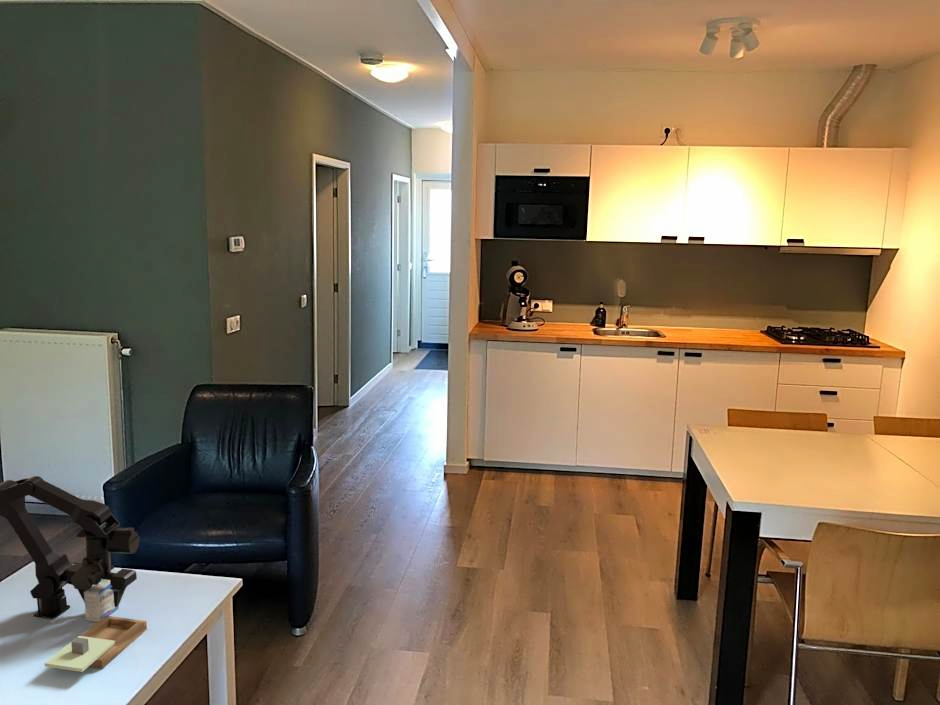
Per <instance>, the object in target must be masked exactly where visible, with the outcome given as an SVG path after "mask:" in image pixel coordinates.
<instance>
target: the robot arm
mask: <svg viewBox="0 0 940 705" xmlns="http://www.w3.org/2000/svg"><path fill="white" fill-rule="evenodd" d="M27 496H31V497H32V498H34V499H36V500H38V501H40V502H42V503H44V504H46V505H48V506H50V507H52V508H54V509H56V510H58V511H59V512H62V513H64V514H66V515H68V517H70V518H71V519H72V522H74V524H75V525H76V526H78V527H80V528H81V529H80V531H79V532H78V533H76V535H75V536H76V537H77V538H84V545H85V556H84V557H83V558H82V563H80V562H79V563H78V562H75V563H74V564H73V563H71V562H70V561H69V558H68V557H67V555H66V553H63V554H62V555H60V554H58V553H56V552H54V551H53V549H52V548H51V547H50V545H49V543H48V542H47V540H46V538H45V537H44V535H43V534H42V532H41V530H40V529H39V527H38V526H37V524H36V522H35V521H34V520H33V518H32V516H31V515H30V513H29V512H28V510H27V508H26V497H27ZM0 516H1V517H3V518H4V519H6V520H7V521H8V523H9V525H10V527H11V528H12V530H13V531H14V533H15V534H16V536H17V537H18V539H19V541H20V542H21V543H22V545H23V547H24V548H25V549H26V552H27V553H28V555H29V556H30V558H31V559H32V561H33V562H34V565H35V577H36V579H37V580H36V581H37V582H38V583H37V584H36V585H35V586H34V587H33V588H32V589H31V590H30V591H29V592H30V595H31V597H32V599H36V603H37V611H35V612H34V613H33V617H38V618H46V619H56V618H57V617H59V616H60V615H62V614H63V613H65V612H66V611H68V610H69V609H70V608H71V605H69V604H68V603H67V595H66V592H65V591H66V590H65V589H64V588H63V587H65V586H66V585H72V586H73V588H74V589H75V590H77V591H78V592H79V595H80V597H81V599H82V601H83V602H84V603H85V600H84V592H85V591H86V590H89V589H90V588H91V587H92V586H93V585H98V583H99V582H100V581H101V580H102V579H105V580H110V585H111V586H112V587H111V588H110V589H111V590H112V591H113V594H114V605H115V607H117V606H118V605H120V603H121V600H122V598H123V596H124V594H125V590H126V589H127V587H128V586H129V585H131V584H133V583H134V582H135V581H136V580H137V578H138V577H137V572H136V571H135V570H134V569H129V568H121V569H120V570H118V571H117V572H112V570H114V569H115V565H114V564H111V556H113V555H114V554H132V555H133V554H135V553H136V552H137V550H138V548H139V545H140V536H139V533H138V532H137V531H135V527H119V526H121V522H120V521H119V520H118V519H117V518H116V516H114V514H113V513H112V512H111V510H110V507H109V506H108V505H107V504H105V503H102V502H100V501H96V500H93V499H92V500H91V499H90V500H89V499H82V498H80V497H78V496H76V495H73V493H70V492H68V491H66V490H64V489H61V488H60V487H58V486H55V485H54V484H52V483H49V482H48V481H46V480H44V479H43V477H41V476H38V475H34V476H33V475H32V477H28V478H27V477H26V478H22V479H18V480H12V479H7V480H4V481H2V482H1V483H0ZM106 523H107V525H105V524H106ZM103 525H105V526H104V527H103V528H102V526H103Z"/></svg>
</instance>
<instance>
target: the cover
mask: <svg viewBox="0 0 940 705" xmlns="http://www.w3.org/2000/svg"><path fill="white" fill-rule="evenodd" d="M114 644H115V641H113V640H106V639H99V638H92V637H85V636H81V635H78V636H77V637H76V638H75V639H73V640H71V641H70V642H69V643H68V644H67V645H65V646H64V647H63V648H61V649H60V650H59V651H58V652H57V653H55V654H54V655H53V656H52V657H50V658H49V659H48V660H47V661H45V662H44V663H43V664H44V667H46V668H47V667H48V668H53V669H54V668H55V669H60V670H68V671H73V672H81V673H83V672H84V671H85V670H87V669H88V668H90V667H89V666H90V665H91V664H92V663H93V662H94V661H96V660H97V659H98V658H99V657H100V656H101V655H102V654H104V653H105V652H106V651H107V650H108V649H109V648H111V647H112V646H113V645H114Z"/></svg>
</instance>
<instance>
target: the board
mask: <svg viewBox="0 0 940 705" xmlns="http://www.w3.org/2000/svg"><path fill="white" fill-rule="evenodd" d="M147 623H148V622H147V620H141V619H134V618H125V617H119V616H111V615H109V616H105V617H103V618H102V619H101V620H100V621H98V622H96V623H94V624H93V625H92V626H91V627H90V628H88V629H86V630H85V631H84V632H83V633H82V634H80V636H85V637H92V638H99V639H106V640H113V641H115V644H114V645H113V646H112V647H111V648H109V649H108V650H107V651H106V652H105V653H104V654H102V655H101V656H100V657H99V658H98V659H97V660H96V661H94V662H93V663H92V664H91V665H90V666H89V667H88V668H93V669H99V670H103V669H104V668H106V666H107V665H109V664H111V662H112V661H113V660H115V659H116V657H118V656H119V655H120V654H121V653H122V652H123V651H124V650H125V649H126V648H128V647H129V646H130V645H131V644H132V643H133V642H134V641H136V640H137V639H138V638H139V637H140V636H141V635H142V634H143V633H145V632H146V631H147V630H148V626H147Z"/></svg>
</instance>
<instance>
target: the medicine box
mask: <svg viewBox="0 0 940 705" xmlns="http://www.w3.org/2000/svg"><path fill="white" fill-rule="evenodd" d="M111 587H112V586H111V585H110V580H105V579H102V580H101V581H100V582H99V583H98V585H92V587H91V588H90V589H89V590H86V591H85V592H84V600H85V602H84V610H85V620H86V621H88V622H96V623H97V622H98V621H100V620H101V619H102V618H103V617H105V616H111V613H112V614H113V613H114V612H115V611H116V610H118V609H119V605H120V604H119V605H118V606H117V607H115V605H114V594H113V591H112V590H111V589H110V588H111Z"/></svg>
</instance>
